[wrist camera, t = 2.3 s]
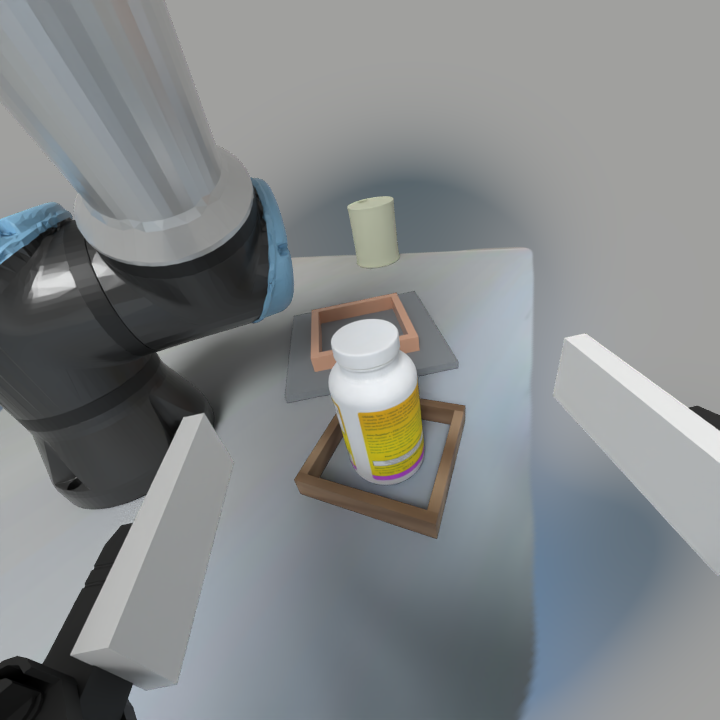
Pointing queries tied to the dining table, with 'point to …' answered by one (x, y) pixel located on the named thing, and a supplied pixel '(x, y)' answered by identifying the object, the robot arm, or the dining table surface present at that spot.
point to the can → (374, 231)
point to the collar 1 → (353, 309)
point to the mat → (300, 367)
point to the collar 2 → (379, 505)
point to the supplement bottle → (377, 401)
